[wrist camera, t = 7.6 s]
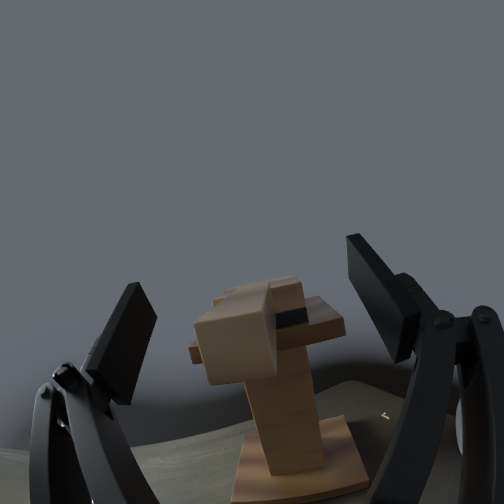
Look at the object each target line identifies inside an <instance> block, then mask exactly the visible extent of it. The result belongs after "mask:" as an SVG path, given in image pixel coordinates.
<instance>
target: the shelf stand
mask: <svg viewBox="0 0 504 504" xmlns="http://www.w3.org/2000/svg"><path fill="white" fill-rule="evenodd" d="M305 303H306V308H307V313H308V319H309V322H305V323H301V324H296V325H292V326H287V327H283V328H278V329H276V345H277V375H276V376H275V377H270V378H264V379H258V380H251V381H245V382H244V385H245V389H246V392H247V396H248V400H249V403H250V406H251V411H252V414H253V418H254V421H255V425H256V428H257V432H253V433H245V435H244V440H243V445H242V450H241V455H240V460H239V465H238V470H237V475H236V479H235V484H234V489H233V494H232V498H231V504H300V503H306V502H312V501H317V500H322V499H327V498H331V497H336V496H340V495H344V494H348V493H351V492H355V491H358V490H362V489H365V488H368V487H369V484H370V479H369V477H368V474H367V472H366V469H365V467H364V464H363V462H362V459H361V457H360V454H359V452H358V449H357V447H356V444H355V442H354V439H353V437H352V435H351V432H350V430H349V427H348V425H347V423H346V420H345V418H344V415H342V416H338V417H334V418H330V419H326V420H322V421H319V419H318V413H317V407H316V401H315V395H314V389H313V383H312V377H311V371H310V366H309V360H308V355H307V349H306V345H309V344H314V343H317V342H322V341H326V340H330V339H334V338H338V337H341V336H345V335H346V331H345V325H344V319H343V317H342V316H341V315H340V314H339V313H338V312H337V311H335V310H334V309H333V308H332V307H331V306H330V305H329V304H327V303H326V302H325V301H324V300H323V299H322V298H320V297H319V296H315V297H310V298H306V299H305ZM188 349H189V353H190V356H191V360H192V363H193V364H200V363H203V361H202V358H201V354H200V350H199V347H198V343H197V339H196V340H195V341H194V342H193V343H192V344H191V345H190V346H189V347H188Z"/></svg>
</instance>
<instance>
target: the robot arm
mask: <svg viewBox="0 0 504 504" xmlns="http://www.w3.org/2000/svg"><path fill="white" fill-rule="evenodd" d="M346 240H347V255H348V273H349V279H350V281H351V283H352V285H353V286H354V288H355V290H356V292H357V293H358V295H359V297H360V299H361V300H362V302H363V304H364V306H365V308H366V310H367V311H368V313H369V315H370V317H371V319H372V321H373V323H374V325H375V326H376V328H377V330H378V332H379V334H380V336H381V338H382V340H383V342H384V344H385V346H386V348H387V350H388V352H389V354H390V355H391V358H392V360H393V362H394V364H396V363H399V362H401V361H404V360H407V359H409V358H410V357H411V353H412V350H413V351H414V353H415V355H416V360H415V363H414V366H413V369H412V371H413V372H412V376H411V380H410V384H409V388H408V391H407V394H406V398H405V401H404V404H403V408H402V411H401V414H400V417H399V420H398V423H397V426H396V428H395V431H394V434H393V436H392V439H391V442H390V444H389V447H388V449H387V452H386V454H385V456H384V459H383V461H382V463H381V465H380V468H379V470H378V472H377V474H376V476H375V478H374V480H373V482H372V484H371V486H370V488H369V490H368V492H367V494H366V496H365V498H364V500H363V501H362V503H361V504H418V502H419V499H420V497H421V495H422V492H423V490H424V487H425V485H426V482H427V479H428V477H429V474H430V471H431V468H432V465H433V462H434V459H435V456H436V453H437V450H438V446H439V443H440V439H441V435H442V431H443V427H444V423H445V419H446V414H447V409H448V404H449V398H450V393H451V386H452V379H453V372H454V365H456V366H457V373H458V380H459V389H460V399H461V413H462V469H461V481H460V491H459V499H458V504H504V331H503V328H502V326H501V323H500V320H499V318H498V315H497V313H496V312H495V311H494V310H493V309H492V308H490V307H488V306H478V307H476V308H475V309H474V310H473V313H472V315H471V316H469V317H460V318H455V317H454V315H453V314H451V313H449V312H448V311H445V310H439V309H438V308H437V306H436V305H435V304H434V303H433V301H432V300H431V299H430V298H429V296H428V295H427V294H426V293H425V291H423V289H422V288H421V287H420V285H418V283H417V282H416V281H415V279H414V278H413V277H411V276H409V275H408V274H406V273H400V274H397V275H394V274H393V273H392V272H391V270H390V269H389V268H388V267H387V265H386V264H385V263H384V262H383V260H382V259H381V258H380V257H379V256H378V254H376V252H375V251H374V250H373V249H372V247H371V246H370V245H369V244H368V243H367V242H366V241H365V239H364V238H363V237H362V236H361V235H360V234H359V233H358V234H353V235H349V236H346ZM156 320H157V315H156V314H155V312H154V310H153V308H152V306H151V304H150V302H149V300H148V299H147V297H146V295H145V293H144V291H143V289H142V287H141V285H140V283H139V282H135V283H131V284H128V285H127V287H126V289H125V291H124V293H123V294H122V296H121V298H120V300H119V302H118V304H117V306H116V307H115V309H114V311H113V313H112V315H111V317H110V319H109V321H108V323H107V325H106V327H105V329H104V331H103V332H102V333H101V334H100V335H99V336H98V337H97V338H96V339H95V340H94V342H93V344H92V346H91V349H90V350H89V352H88V355H87V357H86V359H85V361H84V363H83V365H82V367H81V370H80V372H79V371H78V370H77V369H76V368H75V367H74V365H73V364H72V363H70V362H65V363H63V364H61V365H59V366H58V367H57V369H56V370H55V372H54V374H53V379H54V380H55V381H56V382H57V383H58V384H59V385H60V386H61V387H60V388H55V387H54V386H53V385H52V384H51V383H45V384H43V385H42V386H41V387H40V388H39V390H38V392H37V394H36V400H35V407H34V414H33V422H32V431H31V443H30V464H29V481H30V502H31V504H92V501H93V503H94V504H160V503H159V501H158V500H157V498H156V497H155V495H154V493H153V491H152V490H151V488H150V486H149V484H148V483H147V481H146V479H145V477H144V475H143V474H142V472H141V470H140V468H139V466H138V464H137V462H136V460H135V458H134V456H133V454H132V452H131V449H130V447H129V445H128V443H127V441H126V438H125V436H124V434H123V431H122V429H121V427H120V424H119V422H118V419H117V417H116V415H115V411H114V409H113V408H112V406H111V405H110V404H109V403H110V400H111V399H112V400H113V401H114V402H115V403H116V404H117V405H130V404H131V400H132V396H133V393H134V390H135V386H136V382H137V379H138V375H139V372H140V369H141V366H142V362H143V359H144V356H145V353H146V350H147V346H148V343H149V340H150V337H151V334H152V331H153V328H154V326H155V323H156ZM57 418H58V419H59V420H60V421H61V422H62V426H60V425H59V424H57ZM91 498H92V500H91Z"/></svg>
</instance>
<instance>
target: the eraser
mask: <svg viewBox="0 0 504 504" xmlns="http://www.w3.org/2000/svg"><path fill="white" fill-rule="evenodd" d="M212 304H213V308H212V309H211V310H209V311H208V312H207V313H205V314H204V315H203V316H202V317H200V318H199V319H198V320H197V321H196V322H194V323H193V328H194V331H195V335H196V339H197V343H198V347H199V350H200V354H201V358H202V361H203V365H204V368H205V372H206V375H207V378H208V382H209V384H210V385H212V386H213V385H222V384H230V383H237V382H245V381H251V380H258V379H264V378H270V377H275V376H276V375H277V345H276V329H278V328H283V327H287V326H292V325H296V324H301V323H305V322H309V319H308V313H307V308H306V303H305V298H304V294H303V288H302V283H301V282H300V281H299V280H298V279H297V278H296V277H295V276H294V275H293V274H290V275H286V276H281V277H277V278H273V279H268V280H263V281H259V282H253V283H249V284H244V285H239V286H234V287H231V288H230V289H228V290H227V291H225V292H224V293H222V294H221V295H219V296H218V297H216V298H215V299H213V300H212Z"/></svg>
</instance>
